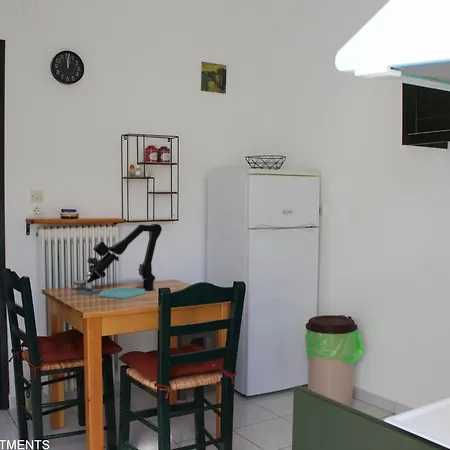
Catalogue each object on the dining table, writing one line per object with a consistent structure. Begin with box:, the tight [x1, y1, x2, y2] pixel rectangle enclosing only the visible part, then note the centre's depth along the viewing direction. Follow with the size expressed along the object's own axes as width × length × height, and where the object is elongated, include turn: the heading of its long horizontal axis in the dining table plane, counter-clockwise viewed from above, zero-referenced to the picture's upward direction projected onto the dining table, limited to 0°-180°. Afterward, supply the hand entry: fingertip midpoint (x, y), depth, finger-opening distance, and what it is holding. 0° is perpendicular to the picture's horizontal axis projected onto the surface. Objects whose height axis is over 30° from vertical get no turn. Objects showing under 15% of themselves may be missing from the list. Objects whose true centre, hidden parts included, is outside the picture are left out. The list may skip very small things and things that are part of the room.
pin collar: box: [75, 288, 103, 296], centre depth 322 cm, size 10×10×2 cm
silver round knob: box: [73, 279, 86, 290], centre depth 336 cm, size 9×9×5 cm
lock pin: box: [84, 271, 93, 291], centre depth 321 cm, size 4×4×12 cm
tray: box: [99, 286, 146, 300], centre depth 315 cm, size 20×16×3 cm
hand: (86, 282), depth 321 cm, fingers closed on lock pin, 4 cm apart
